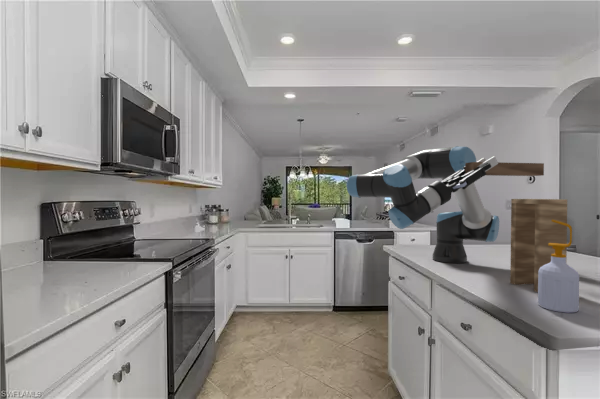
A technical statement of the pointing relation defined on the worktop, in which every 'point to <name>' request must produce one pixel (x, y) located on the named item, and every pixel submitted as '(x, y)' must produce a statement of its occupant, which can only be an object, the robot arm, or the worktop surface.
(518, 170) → the walnut rail
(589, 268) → the worktop surface
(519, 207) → the bridge
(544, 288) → the soap bottle
